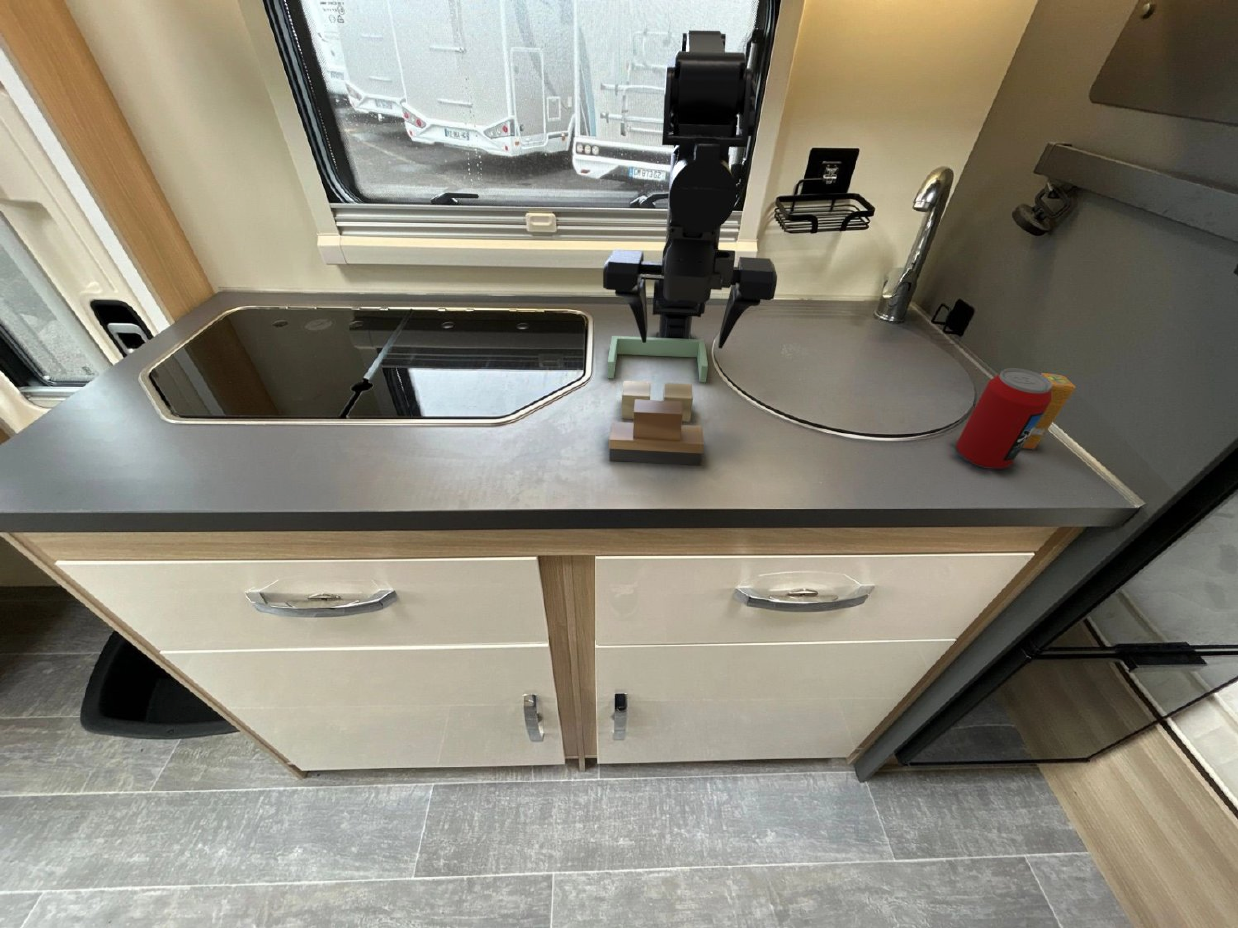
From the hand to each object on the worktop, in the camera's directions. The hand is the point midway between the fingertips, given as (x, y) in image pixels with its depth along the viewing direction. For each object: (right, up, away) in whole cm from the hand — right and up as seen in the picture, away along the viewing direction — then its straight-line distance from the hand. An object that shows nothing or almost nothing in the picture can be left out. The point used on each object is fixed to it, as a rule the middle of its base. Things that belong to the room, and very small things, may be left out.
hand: (682, 344), depth 64 cm
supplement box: (+48, -12, +10) cm, 51 cm away
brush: (-3, -13, +6) cm, 15 cm away
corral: (-1, +2, +25) cm, 25 cm away
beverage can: (+41, -14, +7) cm, 44 cm away
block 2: (+1, -7, +14) cm, 16 cm away
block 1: (-5, -7, +14) cm, 16 cm away
